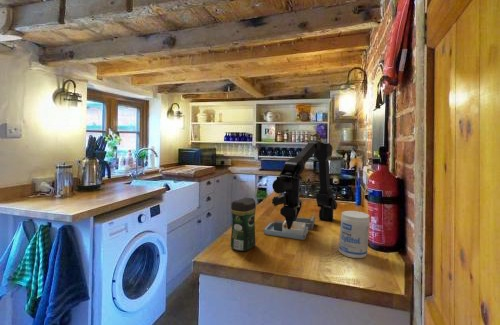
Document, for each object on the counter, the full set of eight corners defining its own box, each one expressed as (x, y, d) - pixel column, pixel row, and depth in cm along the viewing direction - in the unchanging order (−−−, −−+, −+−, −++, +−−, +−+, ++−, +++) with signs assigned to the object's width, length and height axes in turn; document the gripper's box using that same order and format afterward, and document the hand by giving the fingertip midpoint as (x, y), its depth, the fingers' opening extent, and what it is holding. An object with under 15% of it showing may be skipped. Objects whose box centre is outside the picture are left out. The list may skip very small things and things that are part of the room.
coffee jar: (240, 240, 108) (241, 195, 107) (258, 245, 104) (259, 197, 102) (226, 249, 100) (227, 199, 98) (244, 254, 96) (245, 202, 94)
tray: (308, 231, 121) (308, 226, 121) (304, 240, 111) (304, 235, 110) (270, 226, 127) (270, 222, 127) (263, 234, 116) (264, 229, 116)
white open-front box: (305, 231, 119) (305, 222, 119) (303, 236, 113) (303, 226, 113) (276, 227, 123) (276, 219, 123) (272, 232, 118) (273, 223, 117)
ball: (295, 224, 119) (289, 220, 120) (293, 226, 116) (286, 222, 117) (292, 230, 120) (285, 226, 121) (289, 233, 117) (283, 228, 118)
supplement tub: (337, 256, 96) (340, 215, 95) (339, 246, 105) (341, 209, 103) (367, 261, 92) (370, 219, 91) (367, 250, 101) (369, 212, 100)
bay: (314, 224, 132) (314, 216, 131) (312, 229, 123) (312, 221, 123) (290, 221, 136) (291, 213, 135) (287, 226, 127) (287, 218, 127)
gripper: (279, 185, 128) (278, 217, 129) (268, 192, 110) (267, 230, 112) (303, 187, 124) (301, 220, 125) (295, 195, 107) (294, 233, 108)
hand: (291, 225), depth 118 cm, fingers open, 9 cm apart
